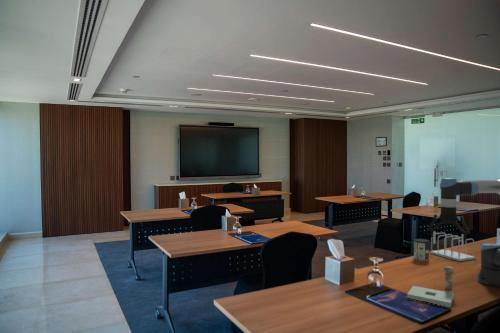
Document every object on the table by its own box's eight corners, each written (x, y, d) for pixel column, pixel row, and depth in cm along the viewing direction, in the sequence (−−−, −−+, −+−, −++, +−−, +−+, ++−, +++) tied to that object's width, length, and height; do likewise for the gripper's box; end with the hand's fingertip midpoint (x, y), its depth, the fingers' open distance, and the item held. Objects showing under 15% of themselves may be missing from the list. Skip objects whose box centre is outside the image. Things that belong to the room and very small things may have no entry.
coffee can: (425, 257, 267) (425, 238, 266) (431, 261, 256) (432, 241, 256) (411, 257, 267) (411, 238, 267) (417, 261, 256) (417, 241, 256)
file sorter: (476, 259, 261) (476, 238, 260) (459, 262, 254) (459, 240, 254) (445, 251, 284) (445, 231, 283) (429, 253, 277) (429, 233, 277)
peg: (453, 293, 195) (454, 267, 194) (452, 296, 191) (453, 269, 191) (444, 291, 197) (444, 265, 197) (443, 294, 194) (443, 267, 193)
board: (453, 298, 188) (453, 293, 188) (450, 307, 176) (450, 302, 176) (413, 290, 200) (413, 285, 200) (407, 298, 188) (407, 293, 188)
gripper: (476, 207, 189) (475, 246, 190) (424, 204, 204) (424, 240, 204) (474, 208, 183) (474, 249, 184) (422, 205, 198) (421, 243, 198)
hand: (448, 245), depth 194 cm, fingers open, 13 cm apart
